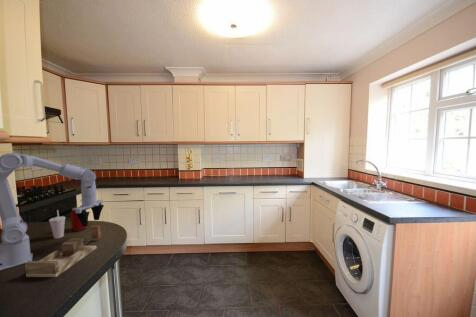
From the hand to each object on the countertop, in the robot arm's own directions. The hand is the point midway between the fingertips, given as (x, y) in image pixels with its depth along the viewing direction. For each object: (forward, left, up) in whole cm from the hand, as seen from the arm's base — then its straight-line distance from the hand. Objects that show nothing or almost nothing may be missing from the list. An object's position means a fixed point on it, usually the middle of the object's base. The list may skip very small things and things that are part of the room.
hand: (91, 222), depth 99 cm
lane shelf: (-11, -12, -9) cm, 19 cm away
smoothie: (-12, +19, -10) cm, 24 cm away
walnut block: (-4, -5, -8) cm, 10 cm away
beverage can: (-3, +23, -10) cm, 25 cm away
